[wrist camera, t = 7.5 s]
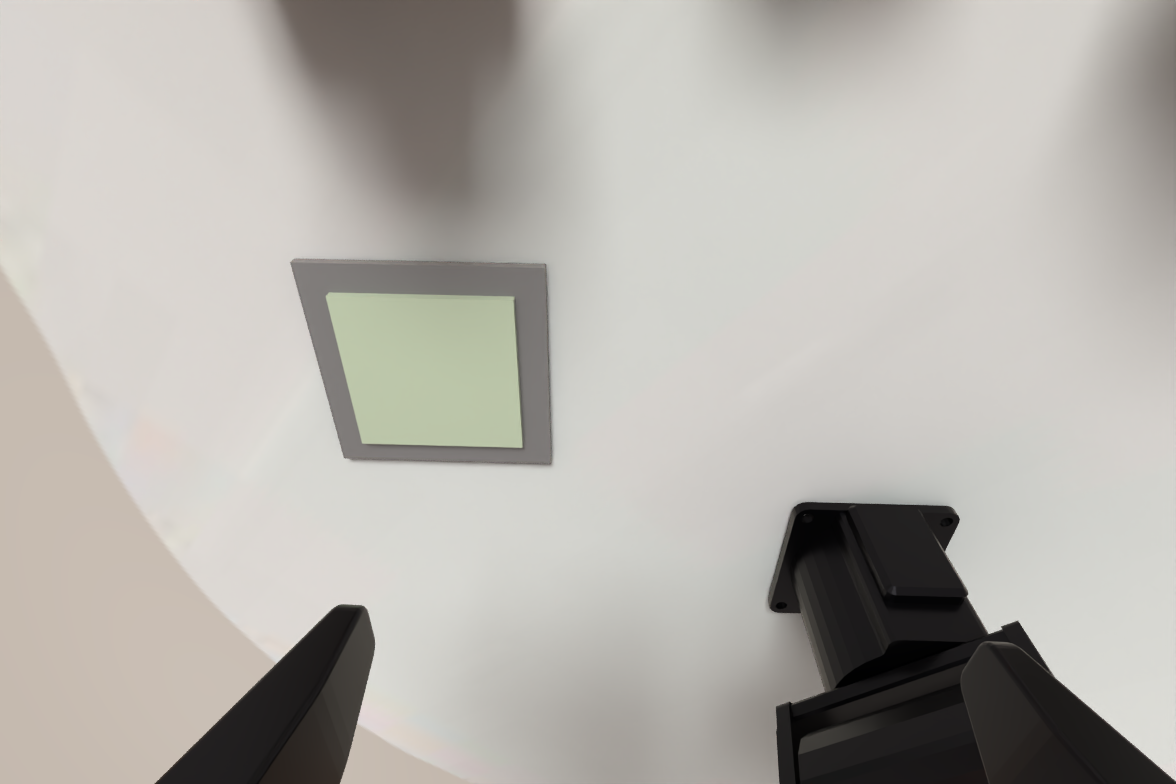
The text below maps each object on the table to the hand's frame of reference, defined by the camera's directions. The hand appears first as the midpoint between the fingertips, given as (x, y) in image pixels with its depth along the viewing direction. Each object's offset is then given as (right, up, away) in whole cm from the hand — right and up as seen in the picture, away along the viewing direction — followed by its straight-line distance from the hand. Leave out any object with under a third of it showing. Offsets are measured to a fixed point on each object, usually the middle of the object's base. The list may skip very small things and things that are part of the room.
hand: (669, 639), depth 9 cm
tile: (-7, +5, +13) cm, 15 cm away
